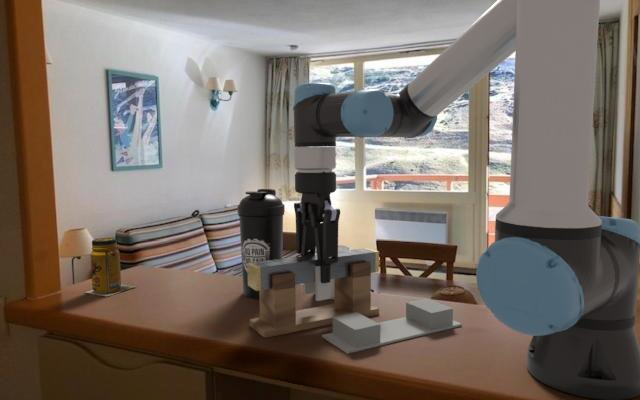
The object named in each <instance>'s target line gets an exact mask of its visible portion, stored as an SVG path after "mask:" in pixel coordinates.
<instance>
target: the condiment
mask: <svg viewBox="0 0 640 400" xmlns="http://www.w3.org/2000/svg"><path fill="white" fill-rule="evenodd" d="M91 246H92V247H91V250H92V251H91V252H90V268H91V284H92V290H89V291H88V290H87V291H84V293H85V294H90V295H96V296H103V297H108V296H113V295H115V294H119V293H121V292H124V291H128V290H130V289H132V288H135V287H137V286H136V285H135V286H133V285H127V284H122V277H121V276H122V274H121V271H122V270H121V256H120V253H121V252H120V250H119V249H118V240H117V239H116V237H100V238H94V239H92V240H91Z"/></svg>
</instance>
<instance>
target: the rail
mask: <svg viewBox="0 0 640 400" xmlns="http://www.w3.org/2000/svg"><path fill="white" fill-rule="evenodd" d="M361 262H371V274H372V273H378V272H380V251H379V250H376V249H373V248H369V247H366V248H365V247H364V248H356V249H351V250H347V251H340V252H338V262H337V263H333V264H331V266H330V279H335V278H342V277H348V276H350V264H354V263H361ZM314 263H318V260H317V254H316V255H308V256H301V255H300V256H294V257H287V258H286V257H285V258H282V259H277V260H269V261H261V262H254V263H247V271H248V286H250V287H251V288H253V289H254V290H256V291H259V290H266V289H272V275H277V274H284V273H291V272H293V273H295V286H296V285H303V284H304V283H310V282H315V265H314Z"/></svg>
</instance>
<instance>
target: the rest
mask: <svg viewBox="0 0 640 400" xmlns="http://www.w3.org/2000/svg"><path fill="white" fill-rule="evenodd" d="M462 325H463V324H462V323H461V322H459V321H456V320H454V308H453V307H450V306H448V305H445V304H443V303H439V302H438V301H435V300H432V299H430V298H422V299H417V300H411V301H407V302H405V316H403V317H398V318H394V319H390V320H384V321H381V322H376V321H374V319H371V318H369V317H365V316H363V315H361V314H359V313H358V312H355V313H350V314H345V315H340V316H335V317H333V324H332V332H329V333H325V334H322V335H321V337H322V338H323V339H325V340H326V341H328V343H330V344H332V345H333V346H335V347H337V348H338V349H340V350H341V351H342V352H343V353H345V354H348V355H349V354H352V353H357V352H361V351H364V350H368V349H372V348H377V347H381V346H384V345H388V344H389V345H390V344H393V343H397V342H402V341H404V340H405V341H406V340H411V339H413V338H417V337H422V336H426V335H430V334H435V333H437V332H442V331H446V330H447V331H448V330H451V329H454V328H459V327H462Z"/></svg>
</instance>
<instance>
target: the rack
mask: <svg viewBox="0 0 640 400" xmlns="http://www.w3.org/2000/svg"><path fill="white" fill-rule="evenodd" d="M371 275H372V273H371V262H361V263H354V264H350V276H348V277H342V278H335V279H334V299H333V300H334V303H331V304H326V305H321V306H316V307H309V308H304V309H298V310H296V308H297V307H296V303H297V302H296V301H297V300H296V285H295V273H293V272H291V273H284V274H277V275H272V289H266V290H259V299H258V300H259V317H256V318H251V319H249V327H250V328H251V329H253V330H254V331H255V332H257V333H258V334H259V335H260V336H262V337H263V339H267V338H271V337H275V336H276V337H277V336H282V335H285V334H292V333H295V332H300V331H306V330H311V329H314V328H320V326H321V327H325V326H329V325H333V317H335V316H340V315H345V314H350V313H355V312H358V313H359V314H361V315H363V316H365V317H367V318H369V317H373V316H378V315H380V307H377V306H375V305H373V304H372V303H371V302H372V301H371V300H372V297H371V296H372V294H371V293H372V292H371V291H372V289H371V288H372V282H371V280H372V279H371V277H372V276H371Z"/></svg>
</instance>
